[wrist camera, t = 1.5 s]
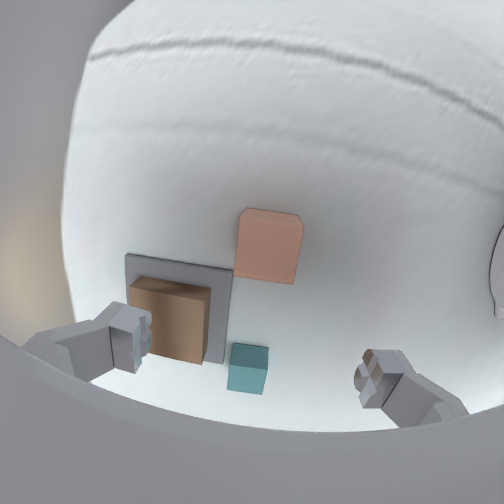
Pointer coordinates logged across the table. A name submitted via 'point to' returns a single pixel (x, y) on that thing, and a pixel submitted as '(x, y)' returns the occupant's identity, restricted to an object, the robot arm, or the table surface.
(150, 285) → the base brick
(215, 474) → the robot arm
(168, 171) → the table surface
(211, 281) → the mat
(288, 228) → the terracotta cube
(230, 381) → the teal cube
